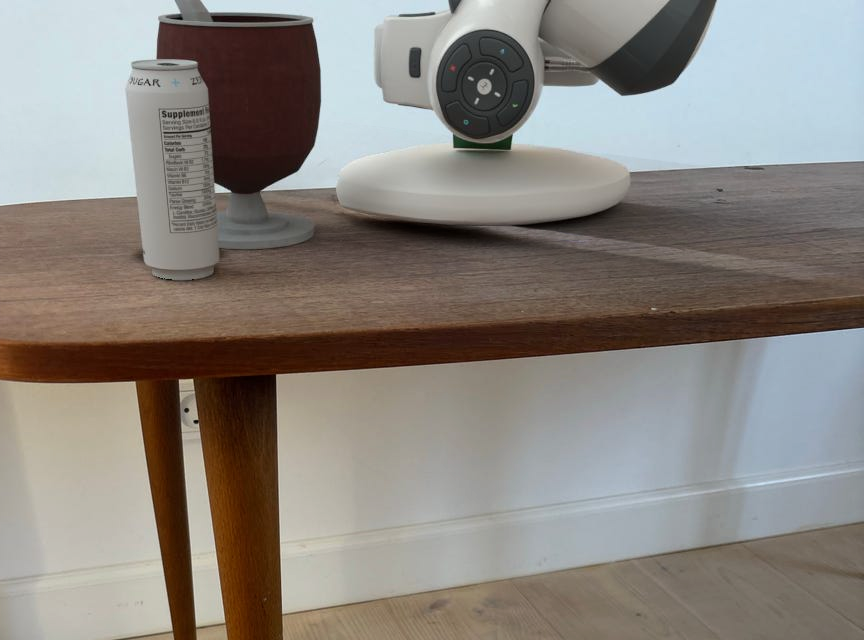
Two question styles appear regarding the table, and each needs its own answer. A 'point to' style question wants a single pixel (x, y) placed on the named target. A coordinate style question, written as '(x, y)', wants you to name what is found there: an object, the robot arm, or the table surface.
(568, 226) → the table surface
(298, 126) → the mate gourd
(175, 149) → the energy drink can
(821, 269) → the table surface
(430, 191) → the plate
